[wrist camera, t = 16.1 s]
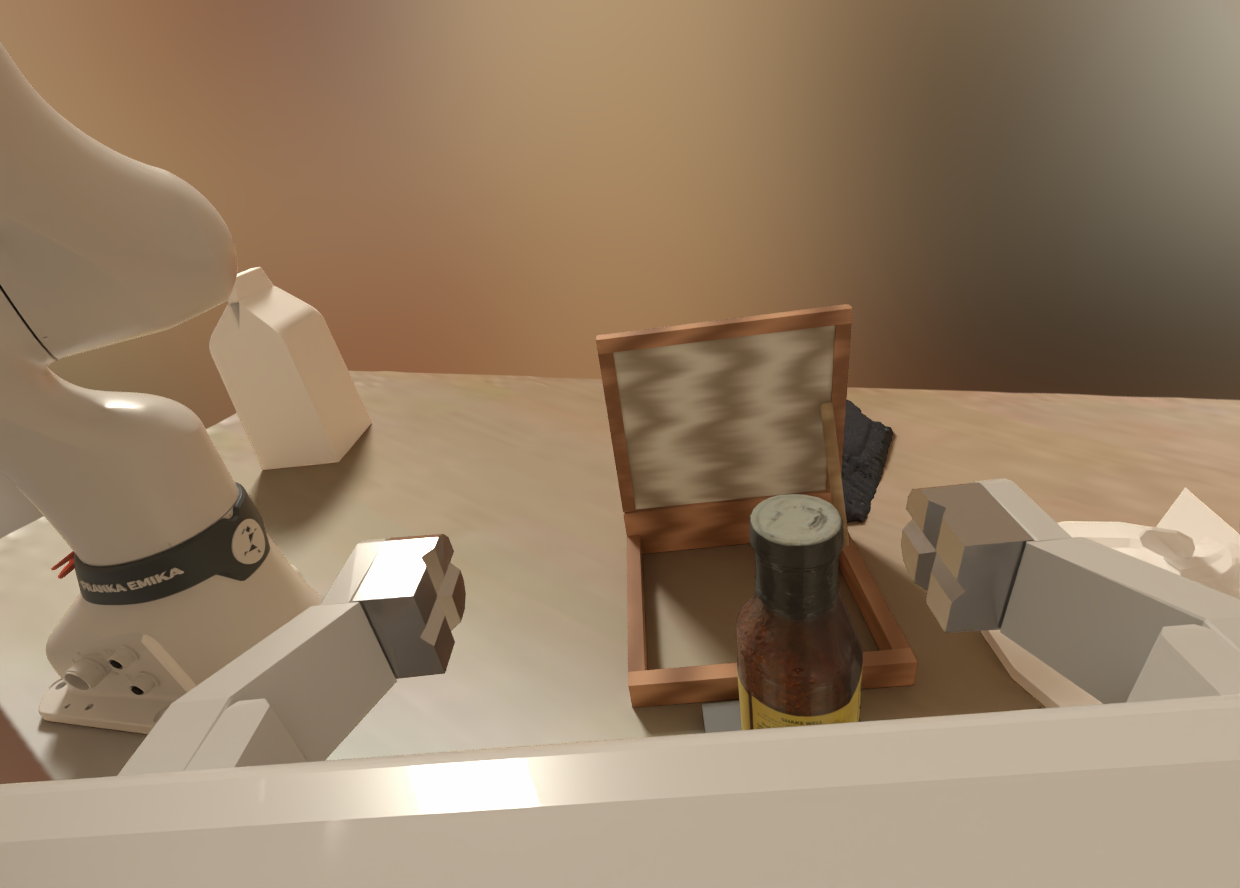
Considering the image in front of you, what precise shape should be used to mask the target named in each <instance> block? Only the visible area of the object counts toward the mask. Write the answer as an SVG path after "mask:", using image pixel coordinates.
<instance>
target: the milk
mask: <svg viewBox="0 0 1240 888" xmlns="http://www.w3.org/2000/svg"><path fill="white" fill-rule="evenodd" d="M228 303H229V304H228V305H227V307H226V309H225V311H224V312H223V314H222V316H221V318H220V320H219V322H218V324H217V326H216V328H215V330H214V332H213V333H212V336H211V338H210V342H209V349H210V352H211V355H212V357H213V360H214V362H215V364H216V367H217V369H218V371H219V373H220V375H221V378H222V380H223V382H224V385H225V387H226V389H227V391H228V394H229V396H230V398H231V400H232V403H233V405H234V407H235V409H236V412H237V414H238V416H239V418H240V421H241V423H242V425H243V427H244V430H245V432H246V434H247V436H248V439H249V441H250V443H251V445H252V448H253V450H254V452H255V454H256V457H257V459H258V461H259V463H260V466H261V468H262V470H268V469H278V468H288V467H297V466H307V465H317V464H327V463H337V462H339V461H340V460H341V459H342V458H343V456H344V455H345V454H346V453H347V452H348V451H349V449H350V448H351V447H352V446H353V445H354V443H355V442H356V441H357V440H358V439H359V438H360V436H361V435H362V434H363V433H364V432H365V431H366V429H367V428H368V427H369V426H370V425H371V423H372V422H371V419H370V417H369V415H368V413H367V411H366V409H365V406H364V404H363V402H362V400H361V398H360V396H359V393H358V391H357V389H356V387H355V385H354V383H353V380H352V378H351V376H350V374H349V372H348V370H347V368H346V365H345V363H344V361H343V359H342V356H341V354H340V352H339V350H338V348H337V346H336V343H335V341H334V339H333V337H332V335H331V333H330V330H329V328H328V326H327V324H326V322H325V320H324V318H323V316H322V315H321V314H320V313H319V312H318V311H317V310H316V309H315V308H314V307H312V306H310V305H309V304H307V303H305V302H303V301H302V300H300V299H298V298H296V297H294V296H292V295H290V294H289V293H287V292H285V291H283V290H281V289H280V288H278V287H276V286H273V284H272V282H271V281H270V280H269V278H268V277H267V275H266V274H265V272H264V271H263V269H262V268H261V267H257V268H251V269H249V270H246V271H244V272H241V273H239V274H237V277H236V281H235V285H234V288H233V291H232V293H231V295H230V297H229V299H228Z"/></svg>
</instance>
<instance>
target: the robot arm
mask: <svg viewBox="0 0 1240 888" xmlns="http://www.w3.org/2000/svg"><path fill="white" fill-rule="evenodd" d="M237 267H238V265H237V254H236V249H235V245H234V241H233V239H232V236H231V233H230V231H229V229H228V227H227V225H226V223H225V222H224V220H223V218H222V217H221V216H220V214H219V213H218V212H217V210H216V209H215V208H214V206H213V205H212V204H211V203H210V202H209V201H208V200H207V199H206V198H205V197H204V196H203V195H202V194H201V193H200V192H199V191H197V190H196V189H195V188H193V187H192V186H191V185H189V184H188V183H187V182H185V181H184V180H182V179H181V178H179V177H177V176H175V175H174V174H172V173H170V172H168V171H166V170H164V169H160V168H157V167H153V166H150V165H147V164H144V163H142V162H139V161H136V160H134V159H131V158H129V157H127V156H125V155H122V154H120V153H118V152H116V151H114V150H112V149H110V148H108V147H107V146H105V145H103V144H101V143H100V142H98V141H96V140H95V139H93V138H91V137H90V136H88V135H87V134H85V133H83V132H82V131H81V130H79V129H78V128H77V127H75V126H74V125H72V124H71V123H70V122H69V121H68V120H66V119H65V118H64V117H63V116H61V115H60V114H59V113H58V112H56V111H55V110H54V109H53V108H52V107H51V106H50V105H49V104H48V103H47V102H46V101H45V100H44V99H43V98H42V97H41V96H40V95H39V94H38V93H37V92H36V90H35V89H34V88H33V87H32V86H31V85H30V83H29V82H28V81H27V79H26V78H25V77H24V76H23V74H22V73H21V72H20V70H19V69H18V67H17V66H16V64H15V63H14V61H13V60H12V58H11V57H10V55H9V54H8V52H7V51H6V49H5V48H4V46H3V44H2V43H1V41H0V473H1V474H2V475H3V476H5V477H6V478H7V479H8V480H9V481H11V482H12V483H13V484H14V485H15V486H16V487H17V488H18V489H19V490H20V491H21V492H22V493H23V494H24V495H25V496H26V497H27V498H28V499H29V500H30V501H31V502H32V503H33V504H34V505H35V506H36V507H37V509H38V510H39V511H40V512H41V513H42V514H43V515H44V516H45V517H46V518H47V520H48V521H49V522H50V523H51V524H52V525H53V527H54V528H55V529H56V530H57V531H58V532H59V534H60V535H61V536H62V537H63V539H64V540H65V541H66V542H67V544H68V545H69V546H70V547H71V549H72V550H73V552H71V553H70V554H69V555H68V556H66V557H65V558H64V559H63V560H61V561H60V562H59V563H58V564H56V565H55V566H54V567H53V568H51V569H52V570H55V569H57V568H59V567H60V566H62V565H63V564H65V563H66V562H68V561H69V564H67V565H66V566H65V567H64V568H63V570H62V571H61V573H60V574H59V575H58V578H60V579H61V578H63V577H65V576H66V575H67V574H68V573H70V572H71V571H72V570H73V569H74V568H75V571H76V575H77V579H78V583H79V587H80V591H81V593H80V594H79V595H78V597H77V598H76V599H75V601H74V602H73V604H72V605H71V606H70V608H69V609H68V610H67V612H66V613H65V614H64V616H63V617H62V618H61V620H60V621H59V622H58V624H57V625H56V627H55V628H54V629H53V631H52V633H51V634H50V636H49V639H48V642H47V644H46V655H47V658H48V660H49V662H50V664H51V665H52V667H53V668H54V669H55V671H56V672H57V673H58V676H57V677H56V678H55V680H54V681H53V682H52V684H51V685H50V686H49V688H48V689H47V691H46V693H45V695H44V696H43V699H42V701H41V703H40V706H39V713H40V715H41V716H42V718H43V719H44V720H47V721H53V722H60V723H67V724H75V725H82V726H90V727H98V728H105V729H113V730H120V731H128V732H136V733H143V734H148V735H147V737H146V738H145V739H144V741H143V742H142V743H141V745H140V746H139V747H138V748H137V750H136V751H135V752H134V754H133V755H132V756H131V758H130V759H129V760H128V762H127V763H126V764H125V766H124V767H123V768H122V770H121V771H120V772H119V774H118V775H117V776H109V777H95V778H82V779H68V780H54V781H40V782H27V783H13V784H1V785H0V888H1240V599H1238V598H1235V597H1233V596H1230V595H1228V594H1225V593H1223V592H1220V591H1218V590H1215V589H1213V588H1210V587H1208V586H1205V585H1203V584H1200V583H1198V582H1195V581H1193V580H1190V579H1188V578H1185V577H1183V576H1180V575H1177V574H1175V573H1172V572H1170V571H1167V570H1165V569H1162V568H1160V567H1157V566H1155V565H1152V564H1150V563H1147V562H1145V561H1142V560H1140V559H1137V558H1135V557H1132V556H1130V555H1127V554H1125V553H1122V552H1119V551H1117V550H1114V549H1112V548H1109V547H1107V546H1104V545H1102V544H1099V543H1097V542H1094V541H1092V540H1089V539H1087V538H1084V537H1074V538H1072V537H1071V536H1070V535H1069V534H1068V533H1067V532H1066V531H1065V530H1064V529H1063V528H1061V527H1060V526H1059V525H1058V524H1057V523H1056V522H1055V521H1054V520H1053V519H1052V518H1051V517H1050V516H1049V515H1048V514H1047V513H1046V512H1045V511H1044V510H1042V509H1041V508H1040V507H1039V506H1038V505H1037V504H1036V503H1035V502H1034V501H1033V500H1032V499H1031V498H1030V497H1029V496H1028V495H1027V494H1026V493H1025V492H1023V491H1022V490H1021V489H1020V488H1019V487H1018V486H1017V485H1016V484H1015V483H1014V482H1013V481H1011V480H1008V479H1005V478H1001V479H993V480H985V481H977V482H973V483H968V484H958V485H948V486H938V487H928V488H918V489H912V490H911V492H910V494H909V496H908V500H907V505H906V510H907V511H908V512H909V514H910V515H911V517H912V518H913V519H912V520H911V521H910V522H909V523H908V524H907V525H906V526H905V527H904V528H903V531H902V540H901V549H902V556H903V561H904V564H905V567H906V569H907V572H908V573H909V575H910V577H911V579H912V580H913V582H914V583H916V584H917V585H919V586H921V587H922V588H924V589H926V590H928V593H927V598H926V603H927V605H928V606H929V608H930V609H931V611H932V613H933V614H934V616H935V617H936V619H937V621H938V622H939V624H940V625H941V627H942V629H943V630H944V632H945V633H949V632H967V631H985V630H1000V633H1002V634H1003V635H1005V636H1006V637H1007V638H1009V639H1010V640H1012V641H1013V642H1015V643H1016V644H1018V645H1019V646H1020V647H1022V648H1023V649H1025V650H1026V651H1028V652H1029V653H1031V654H1032V655H1033V656H1035V657H1036V658H1038V659H1039V660H1041V661H1042V662H1044V663H1045V664H1046V665H1048V666H1049V667H1051V668H1052V669H1054V670H1055V671H1057V672H1058V673H1059V674H1061V675H1062V676H1064V677H1065V678H1067V679H1068V680H1070V681H1071V682H1072V683H1074V684H1075V685H1077V686H1078V687H1080V688H1081V689H1083V690H1084V691H1085V692H1087V693H1088V694H1090V695H1091V696H1093V697H1094V698H1096V699H1097V700H1098V701H1100V702H1101V703H1103V704H1098V705H1084V706H1070V707H1057V708H1043V709H1029V710H1016V711H1002V712H988V713H975V714H961V715H947V716H933V717H919V718H905V719H892V720H878V721H864V722H850V723H836V724H822V725H808V726H794V727H781V728H767V729H753V730H740V731H726V732H712V733H699V734H685V735H671V736H657V737H644V738H630V739H616V740H603V741H589V742H575V743H562V744H548V745H534V746H520V747H507V748H493V749H479V750H466V751H452V752H438V753H425V754H411V755H397V756H383V757H370V758H356V759H342V760H329V761H325V760H326V759H327V757H328V756H329V755H330V754H331V753H332V752H333V751H334V750H335V749H336V748H337V747H338V745H339V744H340V743H341V742H342V741H343V740H344V739H345V738H346V737H347V736H348V734H349V733H350V732H351V731H352V730H353V729H354V728H355V727H356V726H357V725H358V723H359V722H360V721H361V720H362V719H363V718H364V717H365V716H366V715H367V714H368V712H369V711H370V710H371V709H372V708H373V707H374V706H375V705H376V704H377V703H378V701H379V700H380V699H381V698H382V697H383V696H384V695H385V694H386V693H387V692H388V690H389V689H390V688H391V687H392V686H393V685H394V684H395V683H396V682H397V680H396V679H398V678H407V677H416V676H425V675H434V674H444V673H445V671H446V668H447V665H448V662H449V659H450V656H451V652H452V649H453V646H454V643H455V641H454V638H453V636H452V633H451V631H452V630H453V629H454V628H455V627H456V626H457V625H458V624H459V623H460V622H461V620H462V617H463V613H464V610H465V595H466V592H465V586H464V580H463V577H462V574H461V571H460V570H459V569H458V568H457V567H455V566H454V565H453V564H451V563H450V561H451V558H452V555H453V552H454V550H453V548H452V545H451V543H450V540H449V538H448V537H447V536H446V535H444V534H435V535H421V536H408V537H394V538H390V539H388V538H384V539H373V540H364V541H362V542H360V543H358V544H357V545H356V547H355V548H354V550H353V551H352V553H351V555H350V556H349V558H348V560H347V561H346V563H345V565H344V566H343V568H342V570H341V571H340V573H339V574H338V576H337V578H336V579H335V581H334V583H333V584H332V586H331V588H330V589H329V591H328V593H327V594H326V596H325V597H324V599H323V601H322V599H321V597H320V596H319V594H318V593H317V592H316V591H315V590H313V589H312V588H311V587H310V586H309V585H308V584H307V583H306V582H305V581H304V580H303V579H302V576H301V573H300V572H299V571H298V569H297V568H296V567H295V566H294V565H291V564H290V563H289V562H288V561H287V559H286V558H285V557H284V555H283V554H282V553H281V551H280V550H279V549H278V547H277V546H276V545H275V543H274V542H273V541H272V539H271V538H270V537H269V535H268V534H267V533H266V531H265V528H264V525H263V522H262V518H261V516H260V514H259V513H258V511H257V509H256V507H255V506H254V504H253V502H252V501H253V500H252V499H251V497H250V495H249V494H247V492H246V490H245V489H244V487H243V486H242V485H241V484H239V483H237V482H234V480H233V478H232V476H231V475H230V473H229V471H228V469H227V467H226V466H225V464H224V462H223V460H222V458H221V457H220V455H219V453H218V451H217V449H216V447H215V446H214V444H213V442H212V440H211V438H210V437H209V435H208V433H207V431H206V429H205V427H204V426H203V424H202V422H201V420H200V419H199V418H198V417H197V416H196V414H195V413H193V412H192V411H191V410H190V409H189V408H187V407H186V406H184V405H182V404H180V403H178V402H176V401H174V400H171V399H168V398H165V397H161V396H156V395H151V394H143V393H133V392H110V391H98V390H91V389H86V388H82V387H79V386H76V385H73V384H71V383H69V382H67V381H65V380H63V379H61V378H60V377H58V376H57V375H56V374H54V373H53V372H52V371H51V370H50V369H49V368H48V365H49V364H50V363H52V362H54V361H57V360H58V359H60V358H63V357H67V356H70V355H74V354H78V353H82V352H85V351H89V350H93V349H97V348H100V347H104V346H108V345H112V344H116V343H119V342H123V341H127V340H130V339H134V338H137V337H142V336H145V335H149V334H153V333H156V332H160V331H164V330H167V329H170V328H172V327H174V326H176V325H178V324H181V323H182V322H185V321H187V320H189V319H191V318H194V317H196V316H198V315H200V314H202V313H204V312H206V311H208V310H210V309H212V308H214V307H216V306H218V305H220V304H222V303H224V302H226V301H227V300H228V299H229V297H230V295H231V293H232V291H233V288H234V285H235V281H236V277H237Z"/></svg>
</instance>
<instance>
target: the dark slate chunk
mask: <svg viewBox="0 0 1240 888" xmlns="http://www.w3.org/2000/svg"><path fill="white" fill-rule="evenodd" d="M892 436H893V431H892V429H891V427H886V426H884V425H883V424H882V423H881V422H874V421H872V420H871V419H869V418H868V417H866V416H865V415H864V414H862V413H861V410H860V409H859V408H858V407H857V406H855V405H854V404H853V403H852V402H851V401H849V400H846V412H845V426H844V441H843V455H842V470H841V479H842V487H843V495H844V504H845V512H846V520H847V521H860V522H863V521H864V520H865V519H866V515H867V514H868V513H869V512H870V508H871V507H870V505H871V503H870V501H871V500H872V499H873V498H874V494H875V493H876V488H877V486H878V484H879V481H880V479H881V475H882V472H883V467H884V466H885V465H884V464H885V461H886V457H887V454H888V448H889V446H890V442H891V441H892Z"/></svg>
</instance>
